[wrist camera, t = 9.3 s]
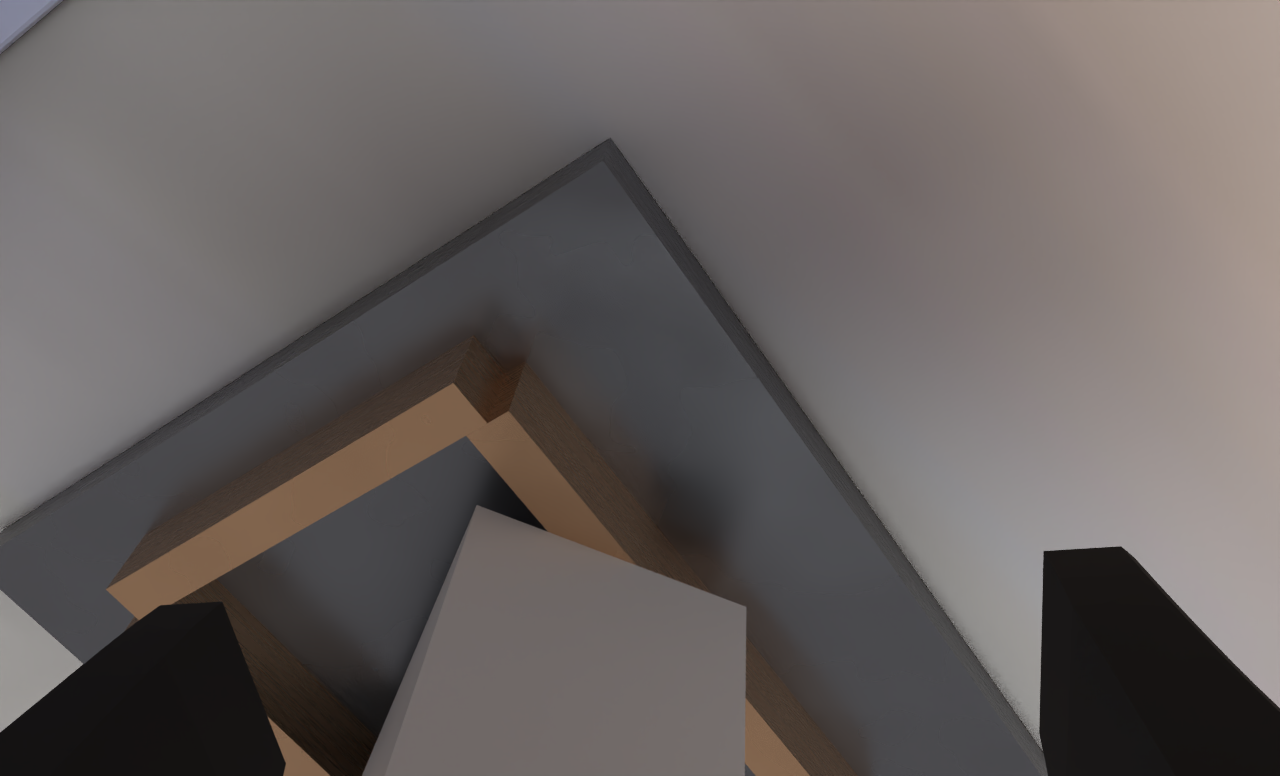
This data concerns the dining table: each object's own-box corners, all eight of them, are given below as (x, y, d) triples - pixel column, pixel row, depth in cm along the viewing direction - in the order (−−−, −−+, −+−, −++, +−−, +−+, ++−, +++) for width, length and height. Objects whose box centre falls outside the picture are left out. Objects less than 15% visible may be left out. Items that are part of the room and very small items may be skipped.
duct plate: (1, 531, 23) (-77, 619, 21) (610, 137, 18) (591, 199, 16) (489, 978, 29) (467, 1084, 26) (1054, 767, 24) (1083, 876, 22)
